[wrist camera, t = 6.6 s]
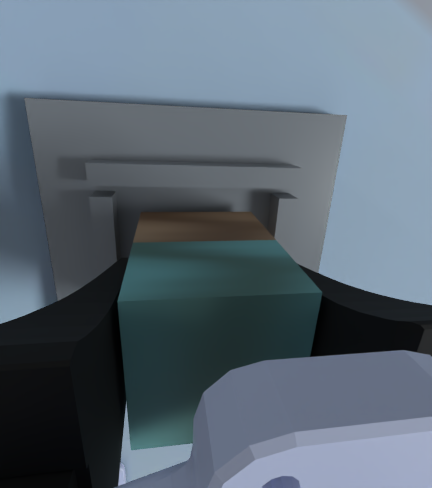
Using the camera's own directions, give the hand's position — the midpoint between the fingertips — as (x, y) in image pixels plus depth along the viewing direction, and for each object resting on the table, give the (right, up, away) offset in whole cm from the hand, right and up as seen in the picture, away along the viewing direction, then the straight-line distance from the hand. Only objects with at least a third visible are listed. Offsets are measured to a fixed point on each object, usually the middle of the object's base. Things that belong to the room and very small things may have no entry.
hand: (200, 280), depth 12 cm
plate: (0, +1, +3) cm, 3 cm away
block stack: (0, +1, +2) cm, 2 cm away
